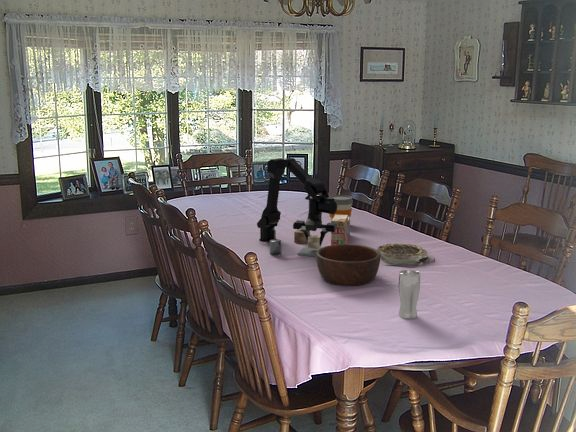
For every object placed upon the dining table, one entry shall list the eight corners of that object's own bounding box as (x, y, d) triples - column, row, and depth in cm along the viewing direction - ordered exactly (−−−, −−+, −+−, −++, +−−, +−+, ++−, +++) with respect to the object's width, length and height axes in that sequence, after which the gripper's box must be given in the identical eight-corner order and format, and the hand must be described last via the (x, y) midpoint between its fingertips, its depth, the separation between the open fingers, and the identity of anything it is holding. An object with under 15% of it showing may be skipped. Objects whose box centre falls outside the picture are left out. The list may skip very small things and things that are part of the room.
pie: (362, 263, 263) (362, 252, 262) (377, 247, 288) (377, 237, 287) (429, 271, 253) (430, 259, 252) (439, 254, 278) (439, 243, 277)
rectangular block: (294, 242, 294) (294, 232, 293) (297, 239, 299) (297, 229, 298) (304, 243, 293) (304, 232, 292) (307, 240, 297) (307, 230, 296)
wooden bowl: (363, 293, 228) (363, 266, 226) (303, 281, 241) (304, 255, 238) (390, 274, 249) (391, 249, 246) (334, 264, 261) (334, 240, 259)
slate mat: (297, 255, 274) (298, 253, 274) (305, 247, 285) (305, 246, 285) (324, 257, 270) (324, 255, 270) (331, 249, 282) (331, 248, 281)
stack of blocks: (337, 234, 308) (337, 210, 306) (350, 235, 307) (350, 210, 304) (330, 246, 288) (331, 220, 285) (344, 247, 287) (344, 220, 284)
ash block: (307, 248, 275) (307, 237, 274) (310, 245, 280) (310, 234, 279) (318, 249, 274) (318, 238, 273) (321, 246, 279) (321, 235, 278)
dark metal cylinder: (268, 254, 274) (268, 241, 273) (272, 251, 279) (271, 238, 277) (279, 255, 273) (279, 242, 271) (282, 252, 277) (282, 239, 276)
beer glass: (402, 310, 212) (404, 267, 208) (421, 314, 208) (424, 271, 205) (393, 316, 206) (395, 273, 203) (413, 321, 202) (415, 277, 199)
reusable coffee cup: (346, 221, 333) (346, 194, 329) (355, 227, 321) (356, 198, 318) (324, 223, 329) (324, 195, 325) (333, 229, 317) (333, 200, 314)
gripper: (289, 213, 268) (289, 248, 272) (331, 216, 263) (331, 251, 267) (296, 207, 279) (296, 241, 282) (337, 210, 273) (336, 244, 277)
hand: (314, 244), depth 277 cm, fingers closed on ash block, 5 cm apart
